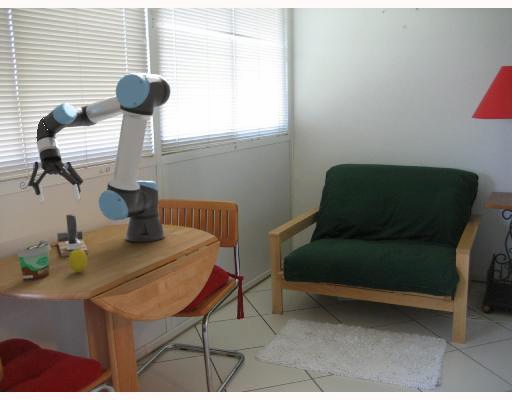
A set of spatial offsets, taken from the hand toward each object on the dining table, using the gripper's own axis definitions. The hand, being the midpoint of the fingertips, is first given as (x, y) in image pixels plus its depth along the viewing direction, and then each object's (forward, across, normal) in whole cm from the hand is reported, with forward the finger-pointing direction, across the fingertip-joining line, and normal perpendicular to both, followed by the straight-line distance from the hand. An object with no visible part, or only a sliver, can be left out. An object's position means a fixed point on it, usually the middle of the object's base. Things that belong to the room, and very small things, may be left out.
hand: (60, 201), depth 203 cm
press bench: (+17, -2, -5) cm, 18 cm away
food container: (+33, +18, +15) cm, 40 cm away
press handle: (+19, 0, +1) cm, 19 cm away
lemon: (+35, +8, +20) cm, 41 cm away
